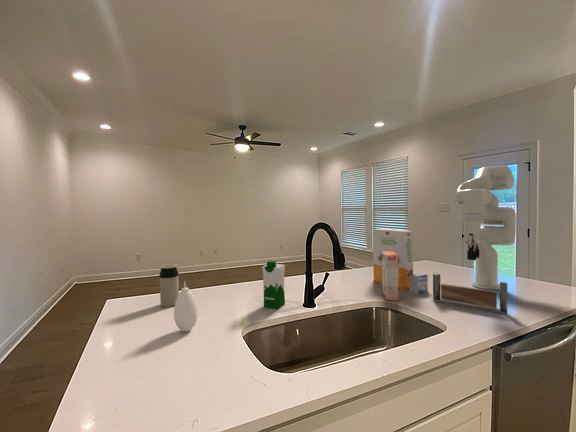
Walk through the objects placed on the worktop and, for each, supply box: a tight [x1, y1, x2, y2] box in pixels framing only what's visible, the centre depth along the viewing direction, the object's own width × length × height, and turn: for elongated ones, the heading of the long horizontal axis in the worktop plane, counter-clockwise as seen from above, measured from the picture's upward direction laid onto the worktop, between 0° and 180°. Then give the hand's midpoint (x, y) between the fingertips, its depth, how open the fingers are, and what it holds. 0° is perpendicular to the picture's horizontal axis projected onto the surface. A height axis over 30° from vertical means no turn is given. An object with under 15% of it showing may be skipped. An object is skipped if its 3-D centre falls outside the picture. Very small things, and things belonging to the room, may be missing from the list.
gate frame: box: [432, 273, 508, 315], centre depth 124 cm, size 4×27×12 cm, turn 48°
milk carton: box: [261, 260, 286, 310], centre depth 130 cm, size 9×9×20 cm
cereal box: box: [372, 228, 414, 291], centre depth 162 cm, size 22×6×30 cm, turn 26°
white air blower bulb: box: [173, 281, 199, 333], centre depth 105 cm, size 8×8×18 cm
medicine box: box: [409, 273, 429, 295], centre depth 147 cm, size 8×4×9 cm, turn 117°
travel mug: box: [159, 263, 180, 308], centre depth 135 cm, size 8×8×18 cm
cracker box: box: [381, 251, 399, 302], centre depth 140 cm, size 14×6×21 cm, turn 168°
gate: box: [440, 283, 498, 309], centre depth 124 cm, size 2×20×6 cm, turn 48°
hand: (473, 258), depth 128 cm, fingers open, 6 cm apart
